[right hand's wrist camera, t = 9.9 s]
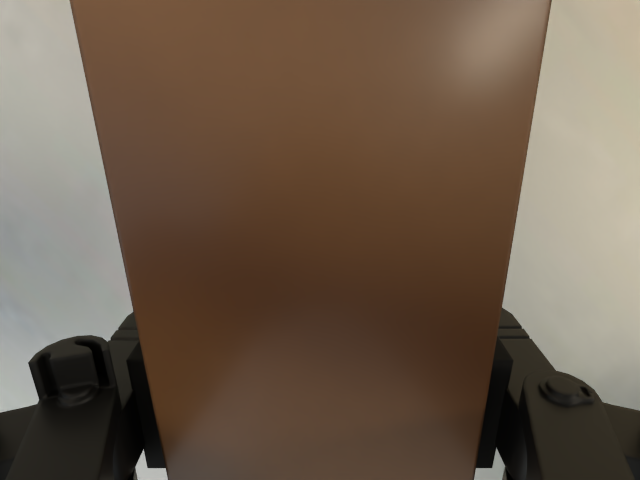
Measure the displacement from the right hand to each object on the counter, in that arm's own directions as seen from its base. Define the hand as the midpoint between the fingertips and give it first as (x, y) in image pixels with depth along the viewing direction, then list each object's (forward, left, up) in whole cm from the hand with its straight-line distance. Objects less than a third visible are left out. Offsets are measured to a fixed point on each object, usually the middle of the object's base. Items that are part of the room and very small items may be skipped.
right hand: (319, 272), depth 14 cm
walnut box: (0, -11, -1) cm, 11 cm away
